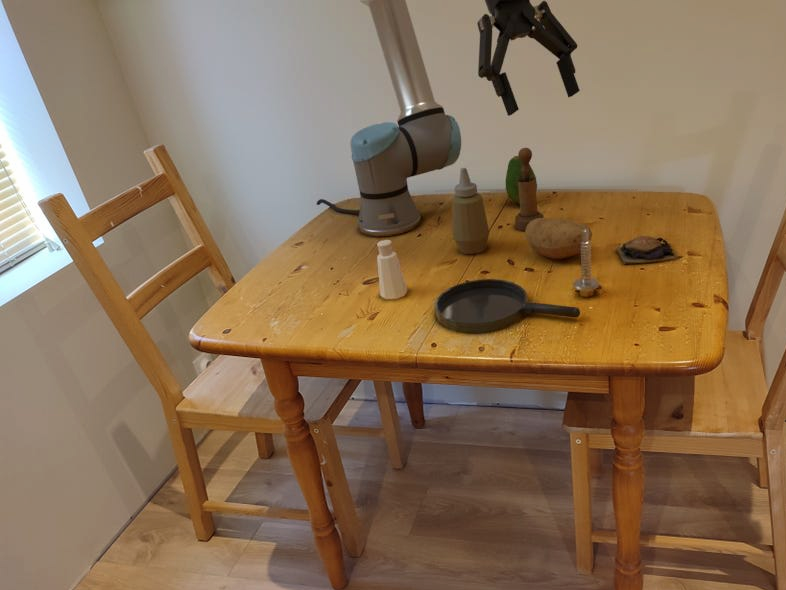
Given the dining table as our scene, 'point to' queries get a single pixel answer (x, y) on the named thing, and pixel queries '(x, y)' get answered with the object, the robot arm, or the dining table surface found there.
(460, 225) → the squeeze bottle
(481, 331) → the pan
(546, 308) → the pan handle
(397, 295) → the salt shaker
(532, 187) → the mortar and pestle
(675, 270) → the dining table surface
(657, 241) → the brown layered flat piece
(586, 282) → the screw
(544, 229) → the potato
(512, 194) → the avocado
